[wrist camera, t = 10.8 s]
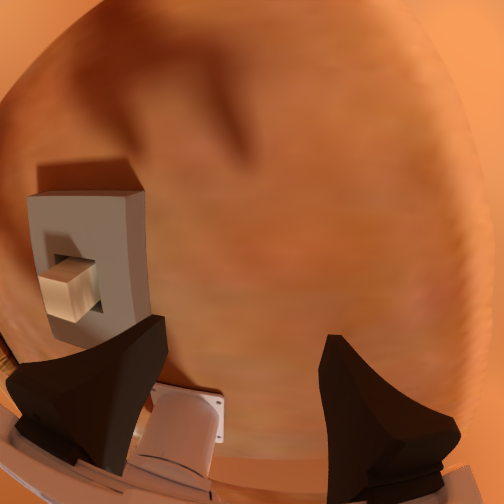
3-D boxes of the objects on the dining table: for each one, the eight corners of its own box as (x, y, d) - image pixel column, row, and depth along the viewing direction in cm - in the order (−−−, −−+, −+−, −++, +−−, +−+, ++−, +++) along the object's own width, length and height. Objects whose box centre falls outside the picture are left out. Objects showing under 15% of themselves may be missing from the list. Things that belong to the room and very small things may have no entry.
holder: (155, 345, 24) (143, 365, 21) (69, 323, 24) (54, 338, 22) (144, 190, 19) (125, 196, 16) (48, 190, 20) (26, 196, 17)
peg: (112, 288, 22) (75, 323, 17) (85, 282, 22) (47, 313, 17) (109, 254, 21) (67, 283, 16) (81, 249, 21) (38, 276, 16)
